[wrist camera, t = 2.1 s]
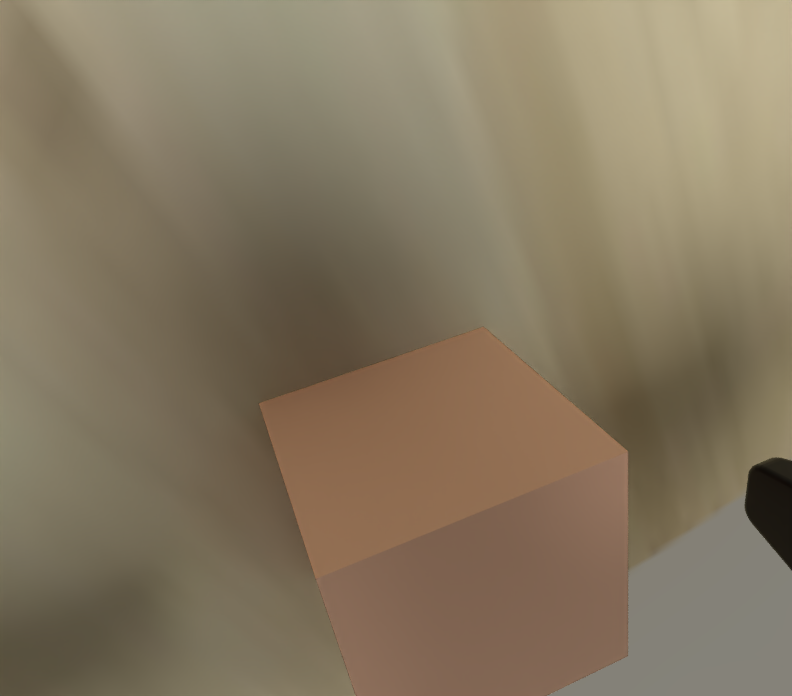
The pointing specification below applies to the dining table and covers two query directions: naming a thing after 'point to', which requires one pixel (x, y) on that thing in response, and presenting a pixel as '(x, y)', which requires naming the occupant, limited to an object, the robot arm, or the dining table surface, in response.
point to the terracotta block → (458, 522)
